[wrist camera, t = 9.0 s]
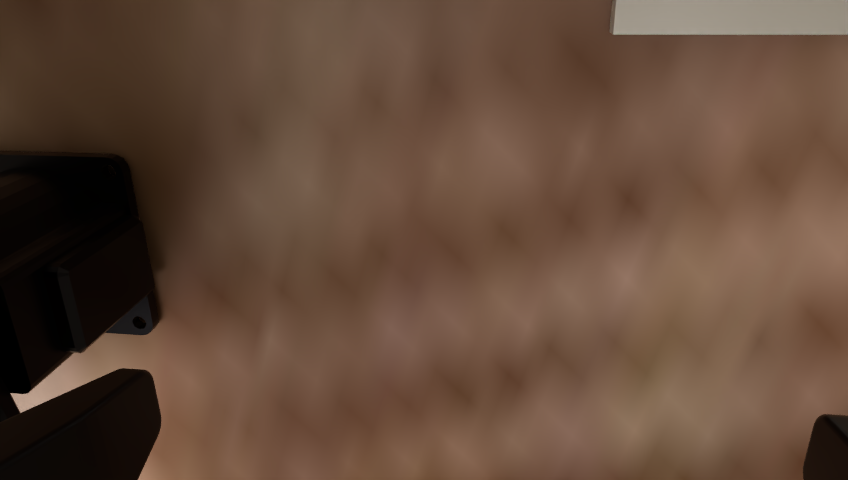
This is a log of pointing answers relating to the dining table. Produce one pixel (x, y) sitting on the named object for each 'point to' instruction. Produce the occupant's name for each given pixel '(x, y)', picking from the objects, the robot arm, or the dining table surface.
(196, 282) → the dining table surface
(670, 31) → the plate
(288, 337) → the dining table surface
